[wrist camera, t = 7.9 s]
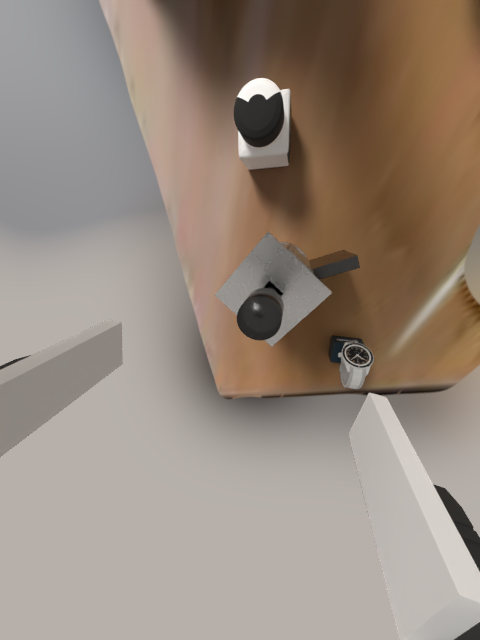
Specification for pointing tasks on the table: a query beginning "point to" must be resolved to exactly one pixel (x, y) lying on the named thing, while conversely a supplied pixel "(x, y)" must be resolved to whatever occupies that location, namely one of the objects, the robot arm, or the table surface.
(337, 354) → the watch
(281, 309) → the plunger
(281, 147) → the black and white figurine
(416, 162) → the table surface
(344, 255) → the press
